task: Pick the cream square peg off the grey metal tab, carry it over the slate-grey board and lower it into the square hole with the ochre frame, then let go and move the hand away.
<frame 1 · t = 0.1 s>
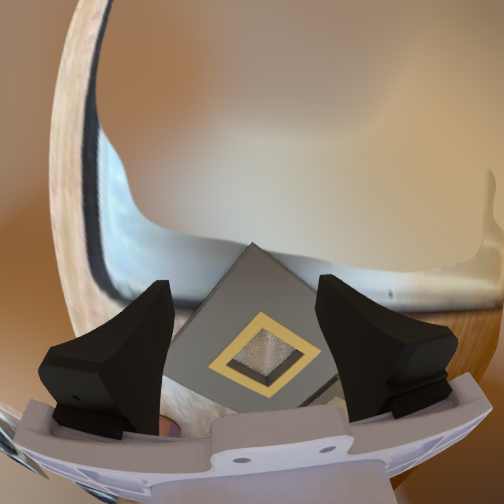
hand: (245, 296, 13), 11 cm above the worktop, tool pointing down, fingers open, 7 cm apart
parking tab: (330, 402, 30), on the worktop
hole board: (263, 350, 26), on the worktop
beverage can: (159, 425, 29), on the worktop
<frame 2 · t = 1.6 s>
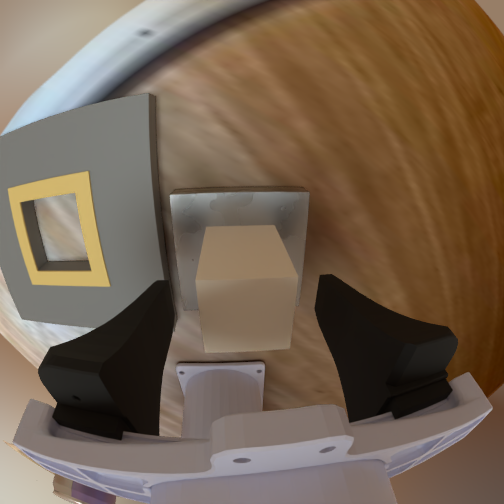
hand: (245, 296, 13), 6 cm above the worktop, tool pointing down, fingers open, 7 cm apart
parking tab: (239, 246, 18), on the worktop
peg: (240, 256, 17), point 1 cm above the worktop, touching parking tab
hole board: (63, 227, 16), on the worktop
beverage can: (110, 389, 24), on the worktop
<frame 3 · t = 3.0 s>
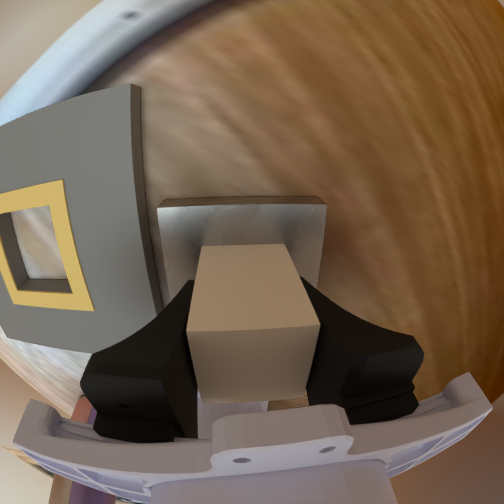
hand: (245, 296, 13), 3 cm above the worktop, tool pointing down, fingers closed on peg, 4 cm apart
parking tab: (242, 266, 15), on the worktop
peg: (243, 280, 14), point 1 cm above the worktop, touching gripper, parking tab
hole board: (42, 242, 13), on the worktop
beverage can: (104, 408, 22), on the worktop
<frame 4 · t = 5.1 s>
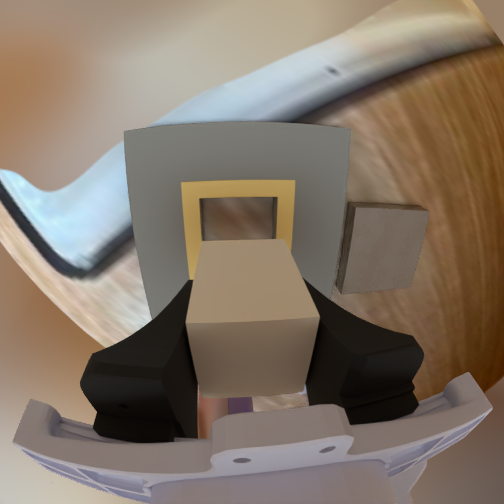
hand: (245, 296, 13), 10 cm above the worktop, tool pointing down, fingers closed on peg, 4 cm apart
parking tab: (380, 245, 23), on the worktop
peg: (243, 275, 14), point 8 cm above the worktop, touching gripper
hole board: (238, 226, 21), on the worktop
beverage can: (224, 379, 29), on the worktop
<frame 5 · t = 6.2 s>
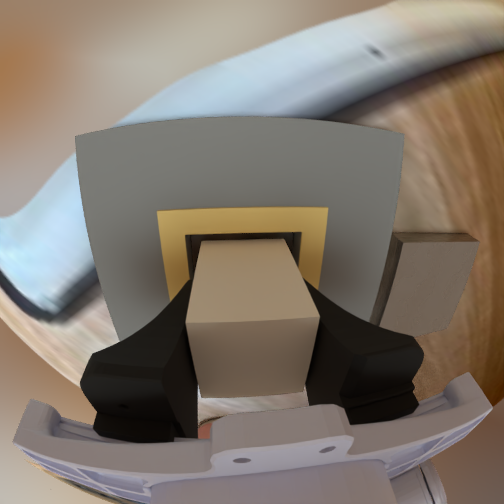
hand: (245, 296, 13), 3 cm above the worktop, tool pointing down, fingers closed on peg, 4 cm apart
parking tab: (420, 283, 17), on the worktop
peg: (243, 275, 14), point 1 cm above the worktop, touching gripper
hole board: (242, 268, 15), on the worktop
when the fingers open (2 cm above the worktop, at t = 7.1 s): peg stays where it is, resting in hole board.
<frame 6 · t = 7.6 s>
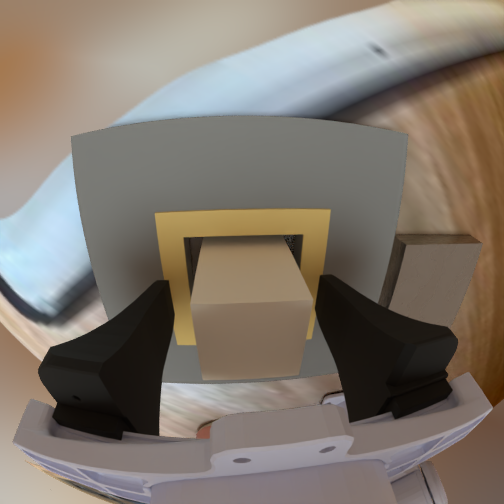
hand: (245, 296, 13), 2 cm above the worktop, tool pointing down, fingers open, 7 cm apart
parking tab: (423, 285, 17), on the worktop
peg: (242, 267, 15), resting in hole board
hole board: (242, 270, 15), on the worktop
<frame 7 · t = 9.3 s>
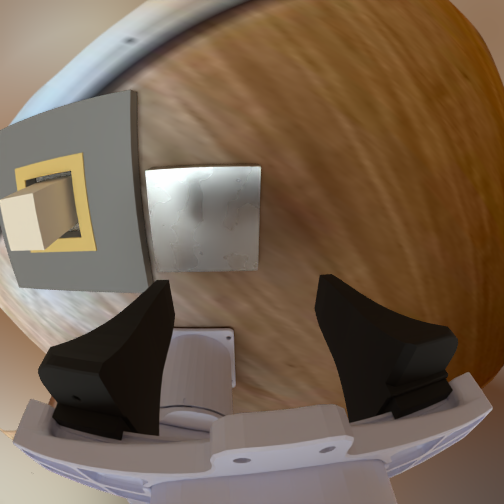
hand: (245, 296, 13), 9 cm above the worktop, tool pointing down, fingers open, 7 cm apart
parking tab: (205, 216, 21), on the worktop
peg: (60, 199, 19), resting in hole board
hole board: (60, 202, 19), on the worktop
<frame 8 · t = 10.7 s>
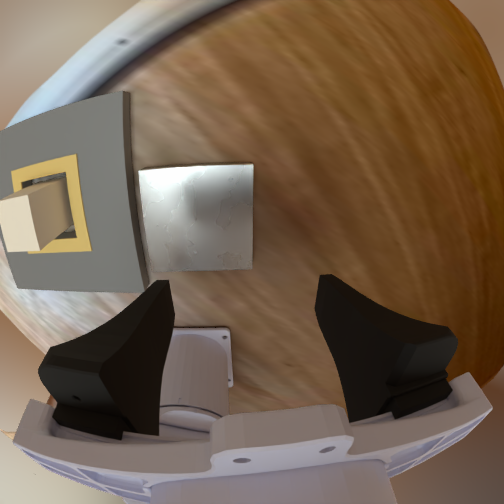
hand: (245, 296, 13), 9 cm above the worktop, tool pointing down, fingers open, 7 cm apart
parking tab: (198, 215, 20), on the worktop
peg: (56, 201, 19), resting in hole board
hole board: (56, 203, 19), on the worktop
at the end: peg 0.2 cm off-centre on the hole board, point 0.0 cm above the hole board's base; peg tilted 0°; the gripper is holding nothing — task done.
